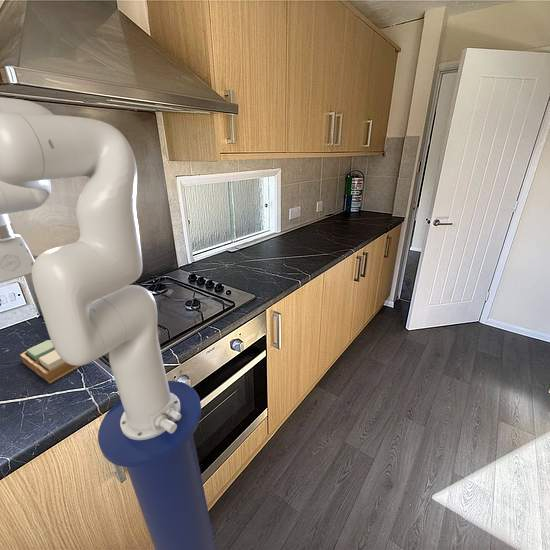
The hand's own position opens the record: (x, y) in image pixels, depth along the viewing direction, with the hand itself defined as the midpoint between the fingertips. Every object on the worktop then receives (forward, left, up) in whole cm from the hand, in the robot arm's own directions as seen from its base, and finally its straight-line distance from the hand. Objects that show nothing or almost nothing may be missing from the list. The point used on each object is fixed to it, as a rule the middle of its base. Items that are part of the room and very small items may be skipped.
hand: (20, 297), depth 77 cm
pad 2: (-8, 0, -20) cm, 21 cm away
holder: (-4, 0, -20) cm, 21 cm away
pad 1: (0, 0, -20) cm, 20 cm away
